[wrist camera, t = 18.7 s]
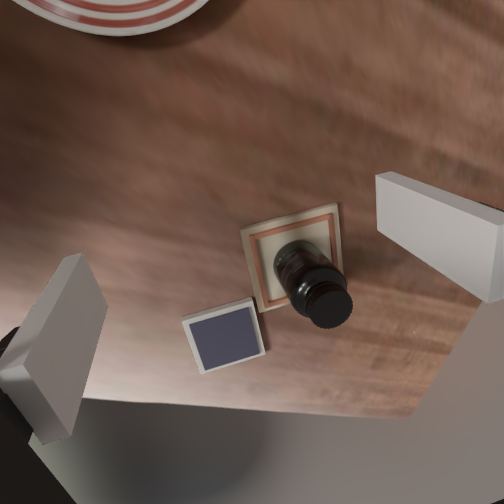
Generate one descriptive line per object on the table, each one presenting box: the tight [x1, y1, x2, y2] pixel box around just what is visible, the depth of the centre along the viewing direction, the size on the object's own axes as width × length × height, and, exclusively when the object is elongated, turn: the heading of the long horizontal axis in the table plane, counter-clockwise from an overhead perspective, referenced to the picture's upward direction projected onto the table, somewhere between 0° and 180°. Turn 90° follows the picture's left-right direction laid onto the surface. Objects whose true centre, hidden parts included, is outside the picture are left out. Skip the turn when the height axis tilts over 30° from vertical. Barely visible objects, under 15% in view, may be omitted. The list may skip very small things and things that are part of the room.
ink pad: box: [181, 297, 265, 374], centre depth 50 cm, size 10×10×1 cm
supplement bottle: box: [273, 240, 353, 329], centre depth 42 cm, size 7×7×12 cm
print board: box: [239, 202, 344, 313], centre depth 47 cm, size 13×13×1 cm
